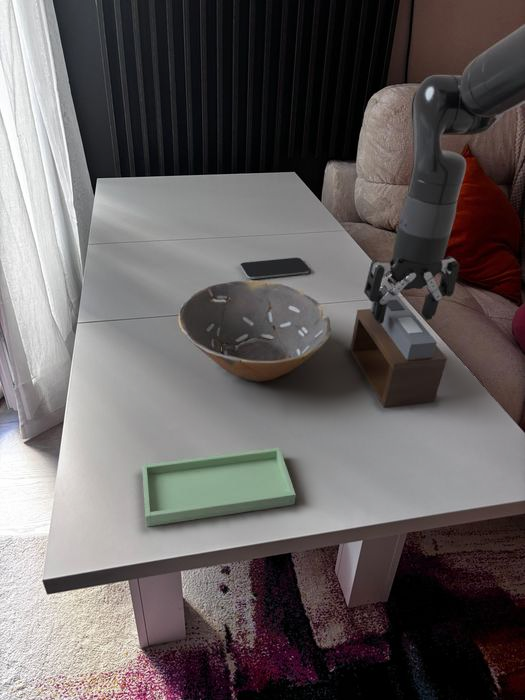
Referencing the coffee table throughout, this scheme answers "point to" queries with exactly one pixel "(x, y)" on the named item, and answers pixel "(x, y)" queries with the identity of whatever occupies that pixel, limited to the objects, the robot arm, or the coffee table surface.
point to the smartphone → (274, 268)
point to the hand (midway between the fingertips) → (402, 318)
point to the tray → (215, 486)
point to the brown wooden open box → (393, 365)
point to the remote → (407, 331)
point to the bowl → (255, 327)
